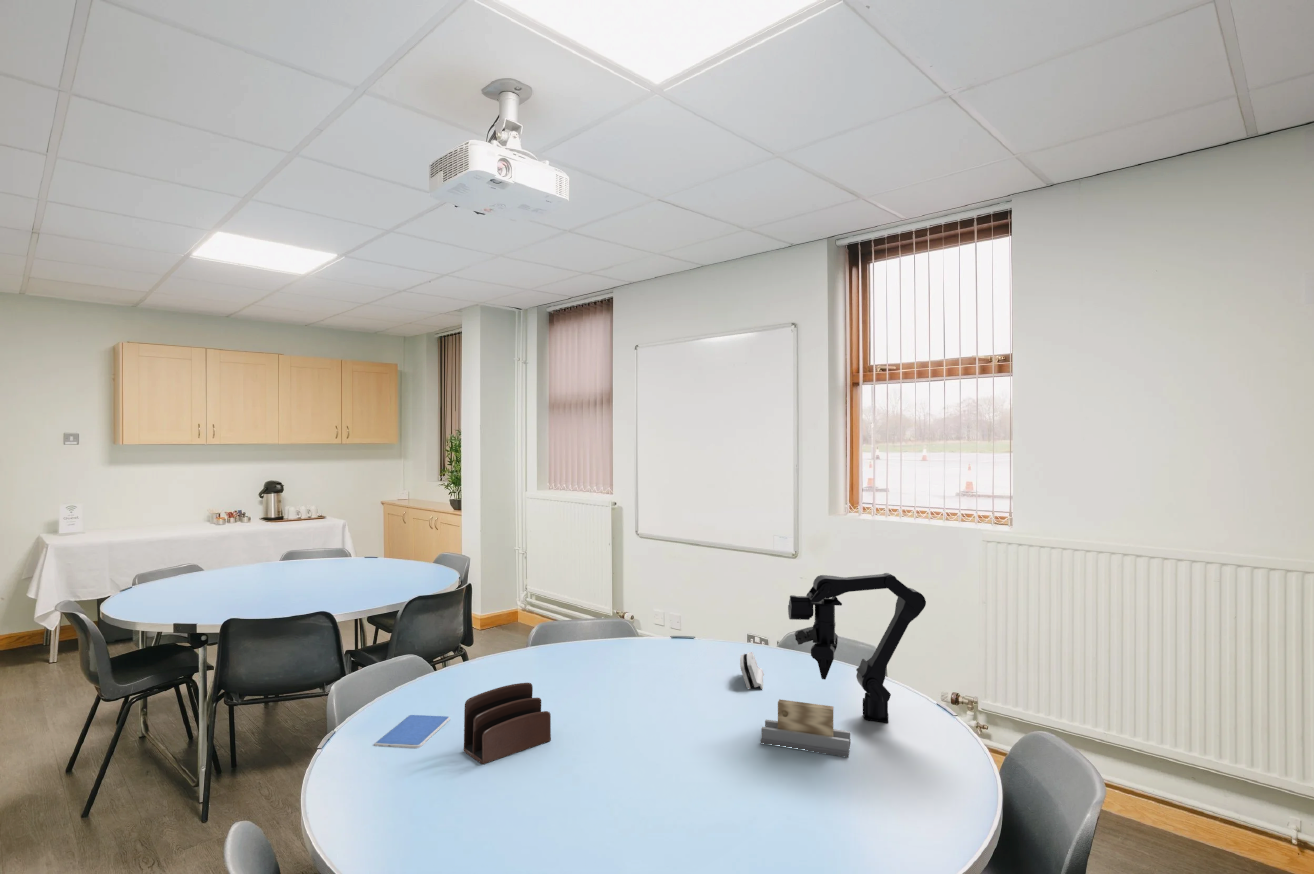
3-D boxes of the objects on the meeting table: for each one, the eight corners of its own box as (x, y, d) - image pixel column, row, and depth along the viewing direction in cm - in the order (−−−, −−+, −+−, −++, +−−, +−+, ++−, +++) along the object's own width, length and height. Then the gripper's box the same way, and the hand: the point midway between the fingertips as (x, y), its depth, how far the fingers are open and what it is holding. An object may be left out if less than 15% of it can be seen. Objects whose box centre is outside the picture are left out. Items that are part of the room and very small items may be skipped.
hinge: (762, 690, 210) (752, 659, 211) (748, 694, 211) (738, 664, 212) (764, 673, 226) (754, 645, 227) (751, 677, 227) (741, 649, 228)
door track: (850, 742, 170) (850, 729, 171) (848, 757, 162) (848, 743, 162) (766, 730, 178) (766, 717, 178) (760, 743, 169) (760, 730, 170)
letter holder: (462, 752, 164) (463, 695, 164) (530, 730, 177) (531, 677, 178) (482, 765, 157) (483, 706, 157) (551, 741, 170) (552, 687, 171)
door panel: (833, 741, 169) (833, 706, 169) (832, 746, 166) (832, 710, 166) (779, 733, 174) (779, 699, 174) (777, 738, 171) (777, 703, 171)
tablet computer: (419, 750, 165) (419, 745, 165) (372, 748, 167) (372, 742, 167) (451, 720, 185) (451, 716, 185) (409, 718, 186) (409, 713, 186)
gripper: (800, 610, 201) (800, 662, 200) (792, 625, 183) (792, 681, 183) (837, 613, 197) (838, 666, 197) (833, 628, 180) (833, 685, 179)
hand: (825, 674), depth 189 cm, fingers open, 9 cm apart
